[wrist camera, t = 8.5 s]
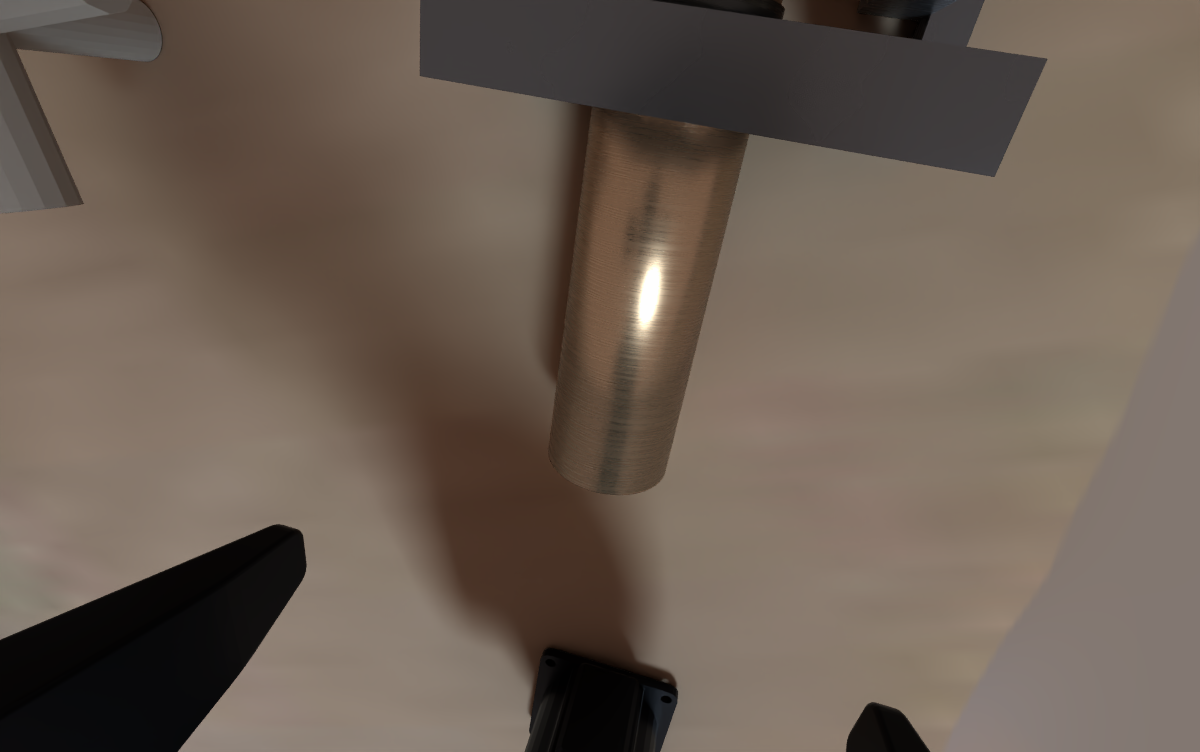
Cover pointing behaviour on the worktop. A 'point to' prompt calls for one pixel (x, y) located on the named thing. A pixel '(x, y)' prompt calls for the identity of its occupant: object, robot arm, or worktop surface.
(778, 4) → the tube
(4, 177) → the pipe connector
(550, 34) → the firebox collars
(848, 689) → the worktop surface
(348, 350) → the worktop surface
